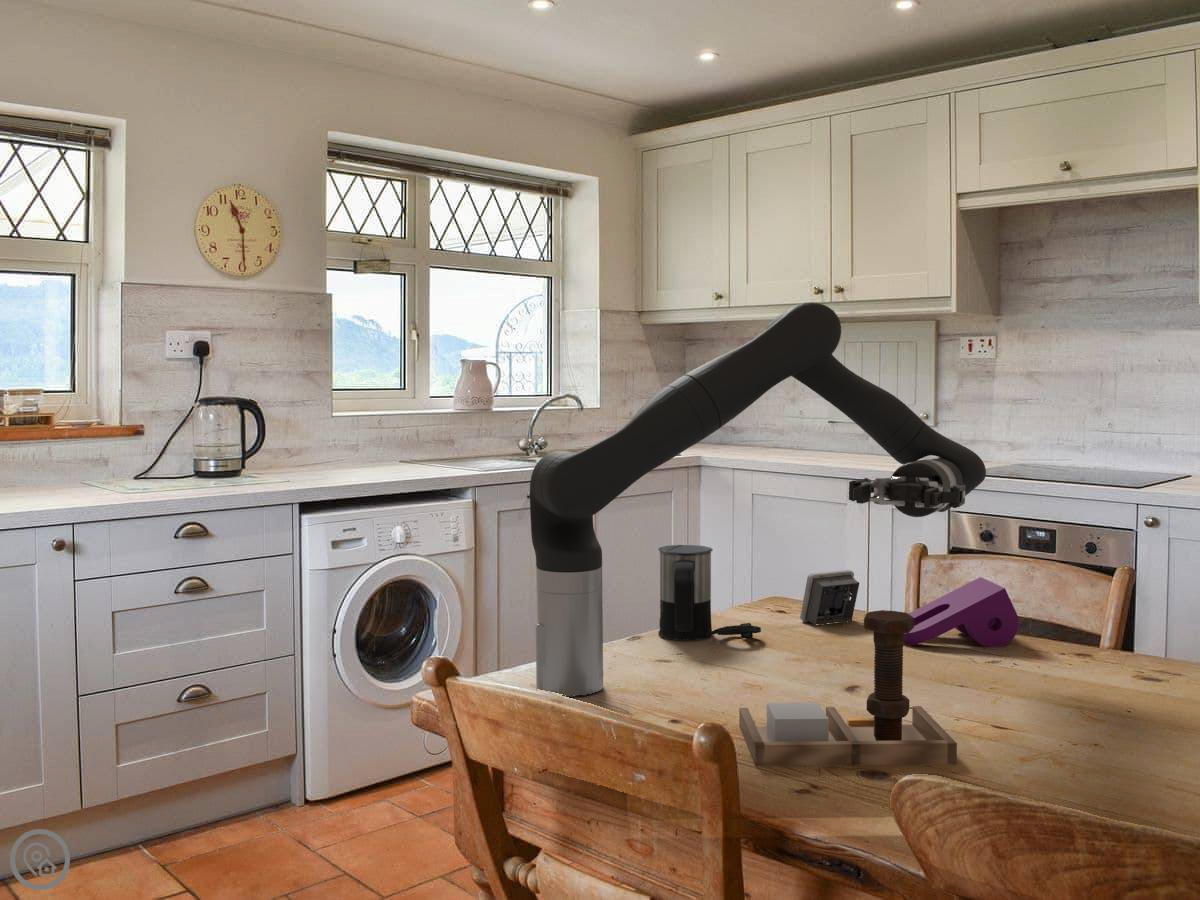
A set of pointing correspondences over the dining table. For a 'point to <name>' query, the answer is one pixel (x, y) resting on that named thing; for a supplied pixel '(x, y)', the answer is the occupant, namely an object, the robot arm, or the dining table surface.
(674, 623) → the milk frother
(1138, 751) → the dining table surface
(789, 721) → the grey block
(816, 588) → the electrical switch
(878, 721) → the bolt
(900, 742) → the tray
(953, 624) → the mounting bracket
